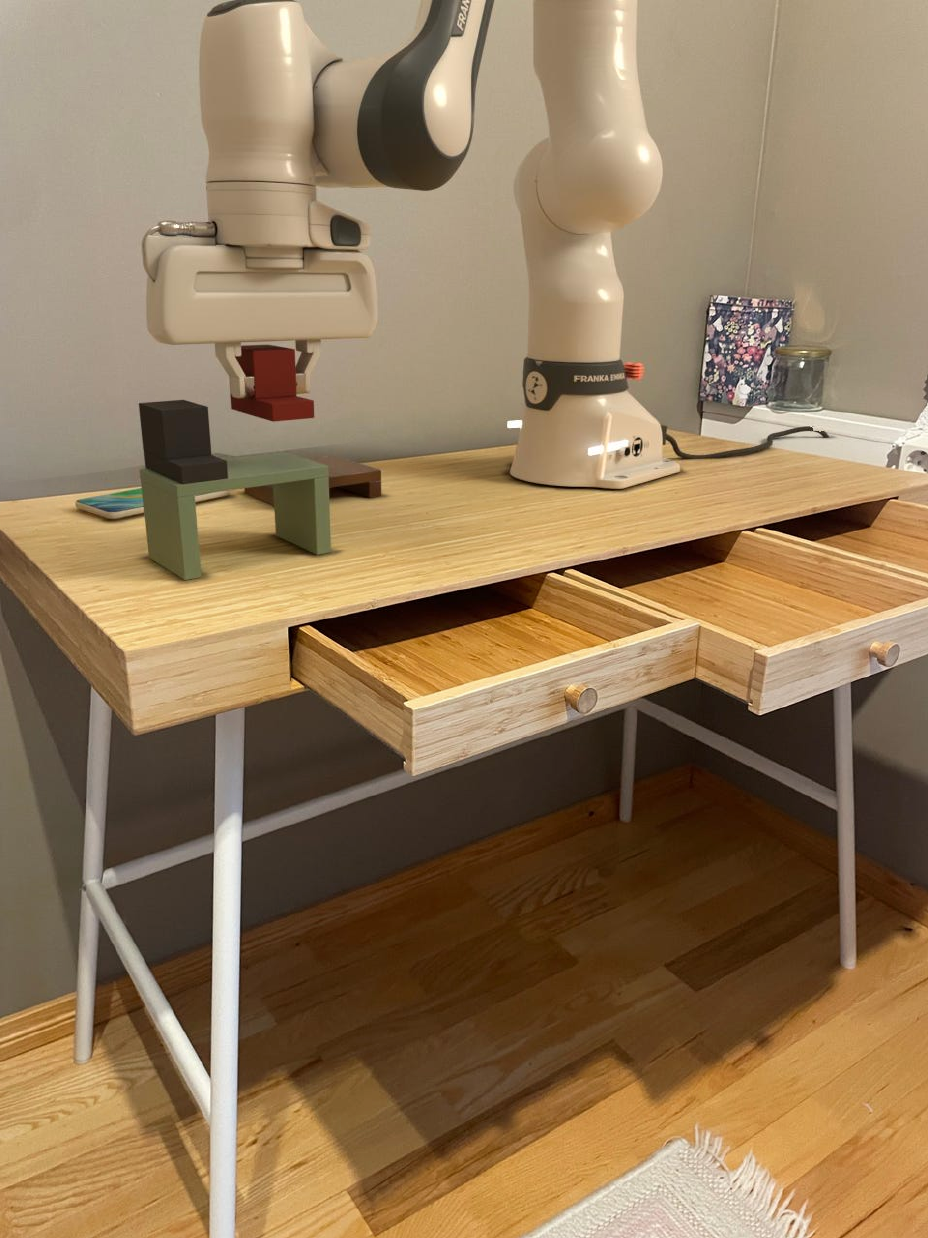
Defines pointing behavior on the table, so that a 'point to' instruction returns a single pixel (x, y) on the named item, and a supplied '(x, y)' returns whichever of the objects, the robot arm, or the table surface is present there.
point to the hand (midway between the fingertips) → (271, 395)
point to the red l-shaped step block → (271, 384)
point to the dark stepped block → (179, 442)
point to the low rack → (335, 479)
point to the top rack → (293, 487)
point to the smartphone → (126, 503)
